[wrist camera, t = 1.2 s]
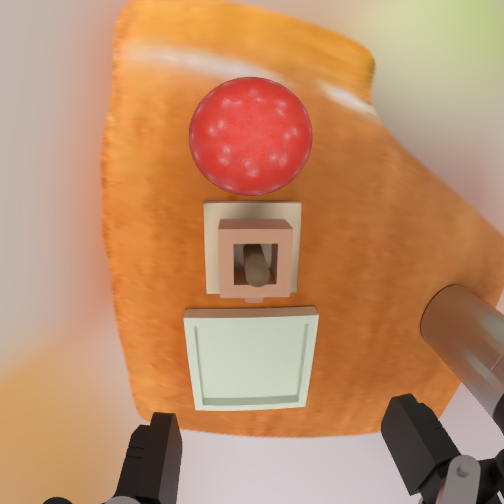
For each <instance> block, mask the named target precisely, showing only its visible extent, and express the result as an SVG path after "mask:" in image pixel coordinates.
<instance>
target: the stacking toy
mask: <svg viewBox="0 0 504 504" xmlns="http://www.w3.org/2000/svg"><path fill="white" fill-rule="evenodd" d="M189 145H190V150H191V153H192V156H193V159H194V161H195V163H196V165H197V167H198V168H199V170H200V171H201V173H202V174H203V175H204V176H205V177H206V178H207V179H208V180H209V181H210V182H212V183H213V184H214V185H216V186H218V187H219V188H221V189H223V190H225V191H228V192H231V193H234V194H238V195H245V196H256V195H263V194H268V193H271V192H274V191H276V190H278V189H280V188H282V187H284V186H285V185H287V184H288V183H290V182H291V181H292V180H293V179H294V178H295V177H296V176H297V175H298V174H299V173H300V171H301V170H302V169H303V167H304V165H305V163H306V161H307V159H308V157H309V154H310V151H311V146H312V126H311V122H310V119H309V116H308V113H307V111H306V109H305V107H304V106H303V104H302V103H301V101H300V100H299V99H298V98H297V97H296V96H295V95H294V94H293V93H292V92H291V91H290V90H288V89H287V88H286V87H284V86H282V85H281V84H279V83H276V82H274V81H271V80H268V79H264V78H258V77H243V78H237V79H233V80H230V81H227V82H225V83H223V84H221V85H219V86H217V87H216V88H214V89H213V90H212V91H210V92H209V93H208V94H207V95H206V96H205V97H204V98H203V99H202V101H201V102H200V103H199V105H198V106H197V108H196V110H195V112H194V114H193V117H192V119H191V123H190V128H189Z"/></svg>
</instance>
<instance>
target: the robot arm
mask: <svg viewBox="0 0 504 504" xmlns="http://www.w3.org/2000/svg"><path fill="white" fill-rule="evenodd" d="M421 333H422V336H423V338H424V340H425V341H426V342H427V343H428V344H429V345H430V346H431V347H432V348H433V349H434V351H435V352H436V353H437V354H438V355H439V356H440V357H441V358H442V360H443V361H444V362H445V363H446V364H447V365H448V366H449V367H450V369H451V370H452V371H453V372H454V373H455V374H456V376H457V377H458V378H459V379H460V380H461V381H462V382H463V384H464V385H465V386H466V387H467V388H468V389H469V391H470V392H471V393H472V394H473V395H474V396H475V398H476V399H477V400H478V401H479V403H480V404H481V405H482V406H483V407H484V409H485V410H486V411H487V412H488V414H489V415H490V416H491V417H492V419H493V420H494V421H495V423H496V424H497V425H498V426H499V428H500V429H501V431H502V433H503V435H504V315H503V314H502V313H500V312H499V311H498V310H496V309H495V308H494V307H492V306H491V305H489V304H488V303H487V302H485V301H484V300H483V299H481V298H480V297H478V296H477V295H475V294H474V293H472V292H470V291H469V290H467V289H466V288H464V287H463V286H461V285H452V286H449V287H446V288H445V289H443V290H442V291H440V292H439V293H438V294H437V295H436V296H435V297H434V298H433V299H432V301H431V302H430V303H429V305H428V306H427V308H426V310H425V312H424V315H423V318H422V322H421ZM381 433H382V436H383V438H384V440H385V442H386V444H387V447H388V449H389V451H390V453H391V455H392V457H393V459H394V462H395V464H396V466H397V468H398V470H399V472H400V475H401V477H402V479H403V481H404V483H405V485H406V488H407V490H408V492H409V494H410V496H411V495H414V494H417V493H419V492H420V493H421V495H422V497H421V498H420V500H419V503H418V504H502V503H501V501H500V499H499V497H498V495H497V493H498V492H499V491H500V492H501V494H502V496H503V498H504V449H503V450H501V451H500V452H499V453H498V455H497V456H496V457H495V458H492V459H486V460H480V461H477V460H476V459H475V458H473V457H471V456H468V455H461V453H460V452H459V451H458V449H457V447H456V446H455V444H454V443H453V442H452V440H451V438H450V436H448V433H447V432H446V430H445V429H444V428H443V427H442V424H441V423H440V421H438V418H437V417H436V415H435V414H434V412H433V411H432V409H430V408H429V407H427V406H426V405H425V404H423V403H418V402H417V400H416V399H415V397H414V396H413V395H412V394H410V393H408V394H404V395H400V396H396V397H392V398H391V400H390V402H389V405H388V407H387V410H386V412H385V415H384V417H383V420H382V422H381ZM128 447H129V448H128V449H127V452H126V458H125V460H124V463H123V467H122V471H121V474H120V478H119V482H118V486H117V490H116V492H115V494H114V496H113V497H112V498H111V499H109V500H108V501H107V502H105V503H102V504H176V500H177V491H178V482H179V473H180V465H181V456H182V438H181V434H180V430H179V426H178V422H177V418H176V415H175V414H174V413H161V412H154V413H153V416H152V419H151V423H150V426H149V425H139V427H138V428H137V429H136V430H135V431H134V432H133V433H132V435H131V439H130V442H129V446H128ZM43 504H72V503H71V502H70V501H69V500H67V499H64V498H60V497H53V498H50V499H48V500H46V501H45V502H44V503H43Z"/></svg>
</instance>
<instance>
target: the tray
mask: <svg viewBox="0 0 504 504" xmlns="http://www.w3.org/2000/svg"><path fill="white" fill-rule="evenodd" d="M318 318H319V314H318V312H317V310H316V309H315V307H314V306H309V307H284V308H246V309H186V311H185V314H184V327H185V336H186V344H187V353H188V360H189V368H190V375H191V382H192V389H193V396H194V402H195V408H196V410H208V411H237V410H265V409H282V408H294V407H305V404H306V399H307V393H308V387H309V381H310V375H311V368H312V362H313V355H314V348H315V341H316V334H317V326H318Z"/></svg>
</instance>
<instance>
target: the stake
mask: <svg viewBox="0 0 504 504" xmlns="http://www.w3.org/2000/svg"><path fill="white" fill-rule="evenodd" d="M203 204H204V241H205V267H206V288H207V294H220V283H219V247H218V228H219V222H220V219H286V221H287V222H288V223H289V224H290V226H291V227H292V228H293V248H292V267H291V283H290V293H292V292H297V278H298V263H299V246H300V228H301V206H302V203H300V202H299V201H205V202H204V203H203ZM271 249H272V244H233V252H234V268H245V273H246V280H247V282H248V283H249V284H250V285H251V286H253V287H262V286H264V285H266V284H267V283H268V281H269V279H270V272H269V269H268V268H271Z"/></svg>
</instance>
